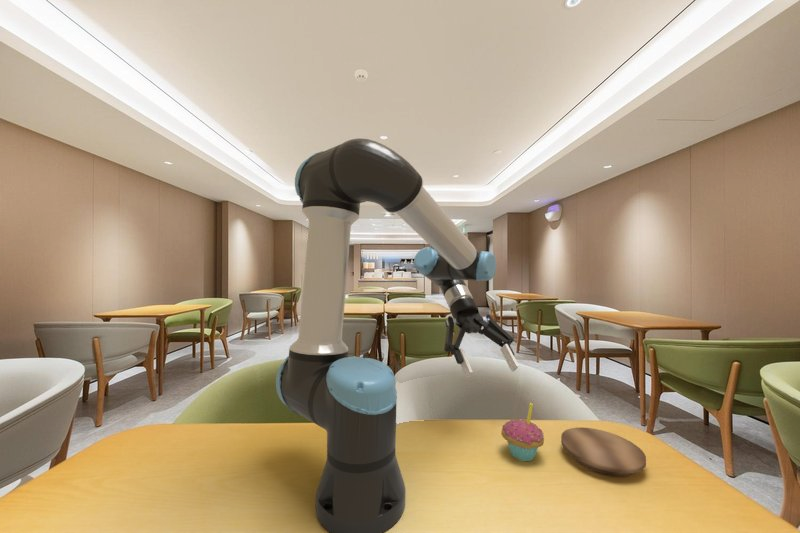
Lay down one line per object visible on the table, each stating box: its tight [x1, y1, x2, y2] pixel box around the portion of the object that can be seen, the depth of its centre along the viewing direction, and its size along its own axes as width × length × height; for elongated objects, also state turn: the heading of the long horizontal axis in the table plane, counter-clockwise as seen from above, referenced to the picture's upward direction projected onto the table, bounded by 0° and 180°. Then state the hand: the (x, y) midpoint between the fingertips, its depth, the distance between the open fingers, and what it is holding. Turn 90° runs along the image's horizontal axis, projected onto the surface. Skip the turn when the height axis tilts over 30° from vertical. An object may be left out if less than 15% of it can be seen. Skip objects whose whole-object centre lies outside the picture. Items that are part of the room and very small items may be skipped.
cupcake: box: [500, 399, 545, 462], centre depth 68 cm, size 9×8×12 cm
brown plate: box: [560, 427, 647, 478], centre depth 67 cm, size 15×15×3 cm
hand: (493, 372), depth 78 cm, fingers open, 13 cm apart
